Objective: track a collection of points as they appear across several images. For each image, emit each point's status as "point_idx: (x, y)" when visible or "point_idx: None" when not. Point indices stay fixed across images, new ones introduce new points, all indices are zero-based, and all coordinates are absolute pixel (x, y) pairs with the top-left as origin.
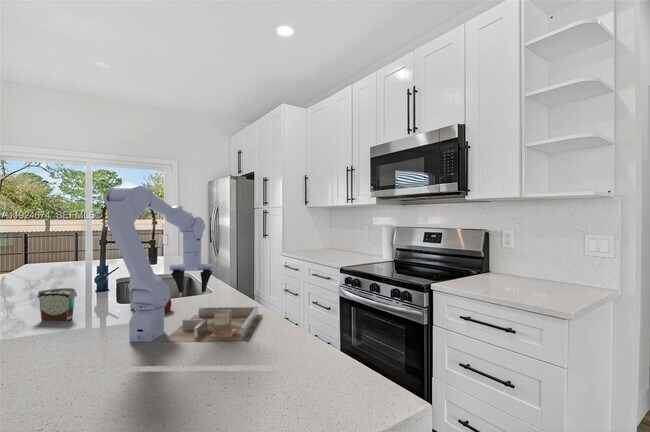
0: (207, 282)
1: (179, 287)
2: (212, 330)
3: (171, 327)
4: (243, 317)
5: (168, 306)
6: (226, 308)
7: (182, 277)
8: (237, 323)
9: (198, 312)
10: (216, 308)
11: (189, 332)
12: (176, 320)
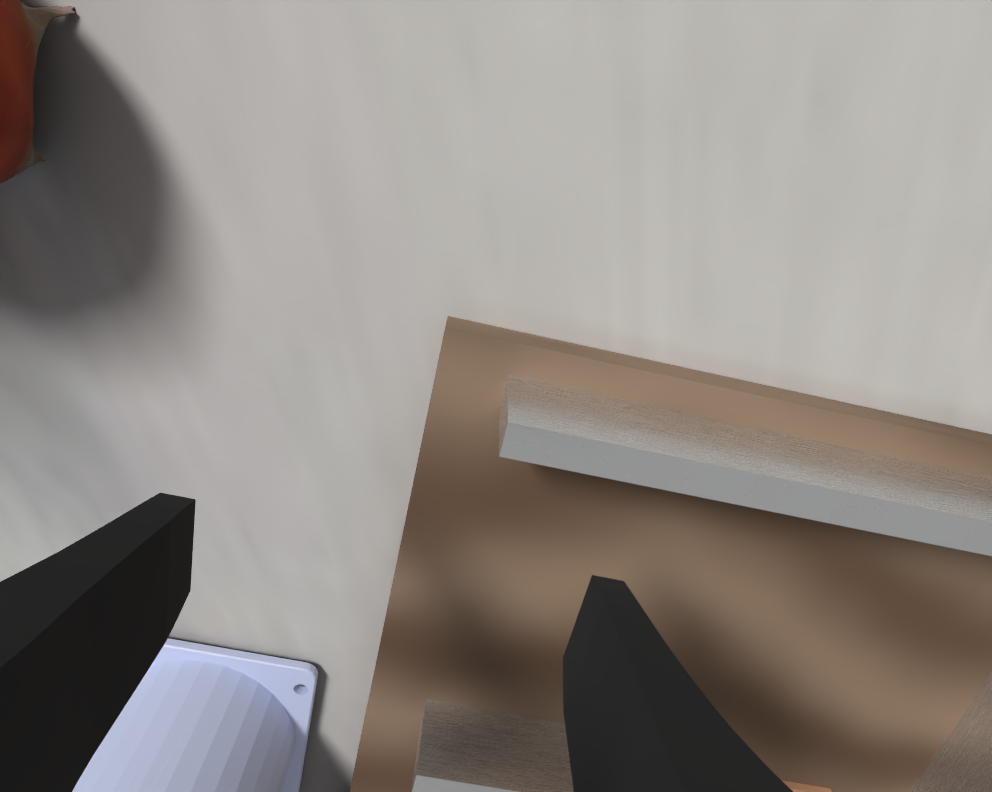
0: (699, 710)
1: (126, 684)
2: None
3: (285, 549)
4: None
5: (6, 146)
6: (844, 522)
7: (3, 741)
8: (869, 675)
9: (499, 427)
10: (724, 496)
11: None
12: (261, 356)
